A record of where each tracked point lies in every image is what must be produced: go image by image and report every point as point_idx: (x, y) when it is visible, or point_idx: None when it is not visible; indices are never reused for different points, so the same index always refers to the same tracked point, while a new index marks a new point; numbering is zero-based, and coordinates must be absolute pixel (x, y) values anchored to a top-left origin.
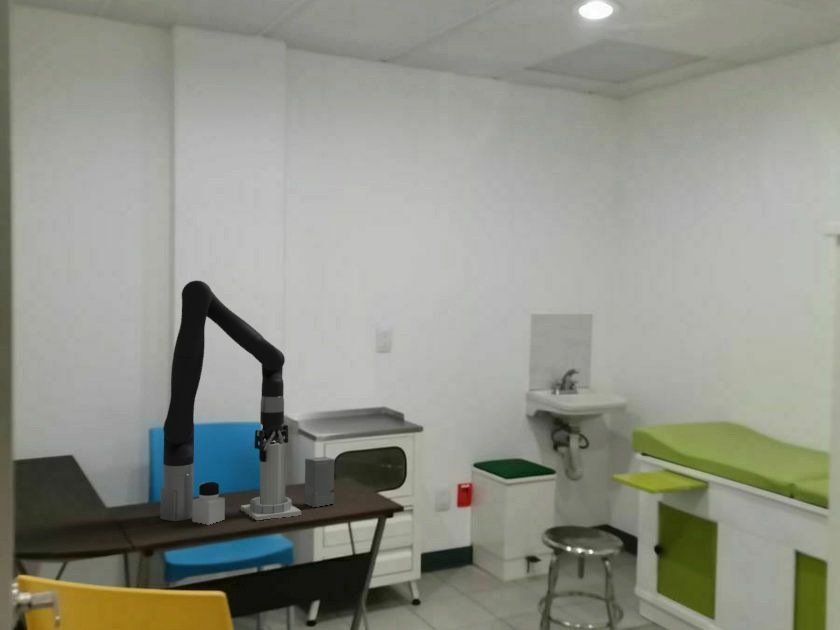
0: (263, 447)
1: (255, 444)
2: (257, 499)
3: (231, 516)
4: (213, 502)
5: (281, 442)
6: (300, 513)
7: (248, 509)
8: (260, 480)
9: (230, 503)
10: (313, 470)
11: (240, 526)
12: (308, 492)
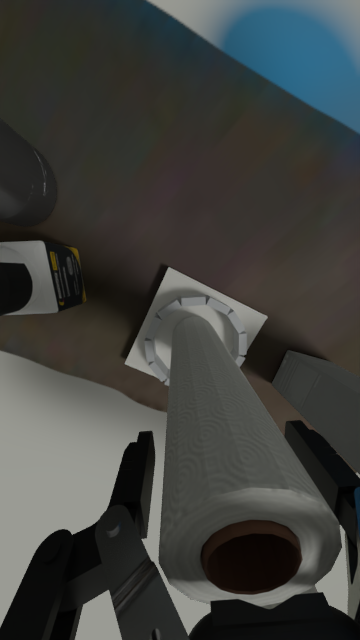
0: (105, 579)
1: (18, 604)
2: (192, 305)
3: (117, 290)
4: (9, 314)
5: (349, 578)
6: None
7: (153, 309)
8: (175, 354)
9: (199, 193)
10: (340, 447)
11: (82, 358)
12: (297, 379)
